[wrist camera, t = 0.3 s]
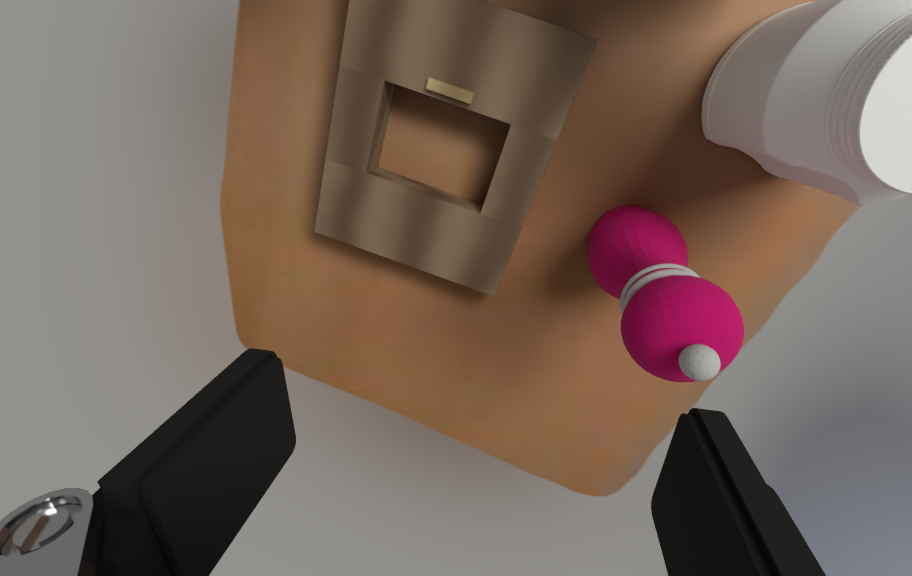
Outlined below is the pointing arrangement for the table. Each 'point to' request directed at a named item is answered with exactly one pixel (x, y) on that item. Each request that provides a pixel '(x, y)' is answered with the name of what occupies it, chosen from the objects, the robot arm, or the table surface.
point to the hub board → (460, 83)
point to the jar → (822, 97)
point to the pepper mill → (663, 297)
